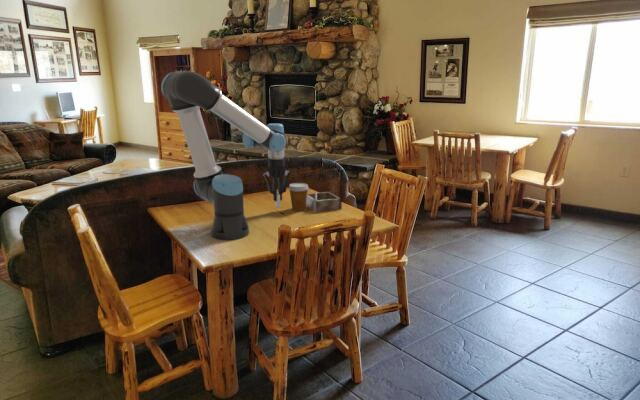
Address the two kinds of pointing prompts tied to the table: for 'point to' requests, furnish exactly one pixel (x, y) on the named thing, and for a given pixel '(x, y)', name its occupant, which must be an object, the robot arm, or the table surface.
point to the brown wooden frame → (327, 201)
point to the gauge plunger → (311, 202)
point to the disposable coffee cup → (298, 196)
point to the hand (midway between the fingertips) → (278, 207)
